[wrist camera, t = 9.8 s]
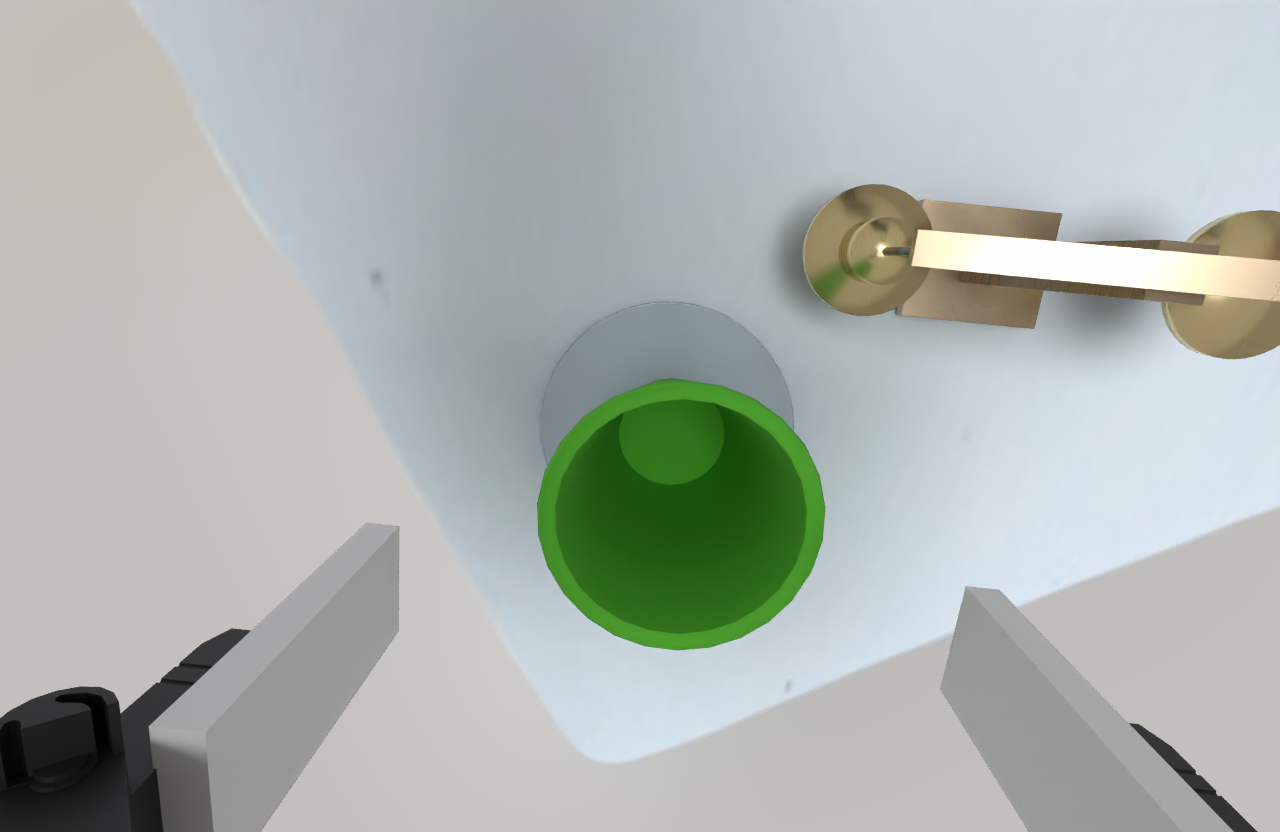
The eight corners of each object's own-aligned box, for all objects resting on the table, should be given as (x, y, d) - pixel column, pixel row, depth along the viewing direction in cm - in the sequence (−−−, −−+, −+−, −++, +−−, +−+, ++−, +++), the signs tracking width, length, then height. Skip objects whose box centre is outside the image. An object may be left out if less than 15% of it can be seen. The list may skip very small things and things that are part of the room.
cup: (749, 530, 32) (797, 668, 22) (566, 506, 32) (523, 633, 21) (783, 350, 30) (854, 404, 19) (586, 323, 30) (550, 364, 19)
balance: (777, 301, 30) (876, 342, 16) (794, 188, 29) (916, 129, 15) (1142, 338, 30) (1555, 412, 16) (1175, 227, 29) (1650, 202, 15)
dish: (552, 289, 31) (548, 290, 30) (807, 315, 31) (812, 317, 30) (537, 526, 34) (533, 534, 33) (770, 550, 34) (773, 559, 33)
